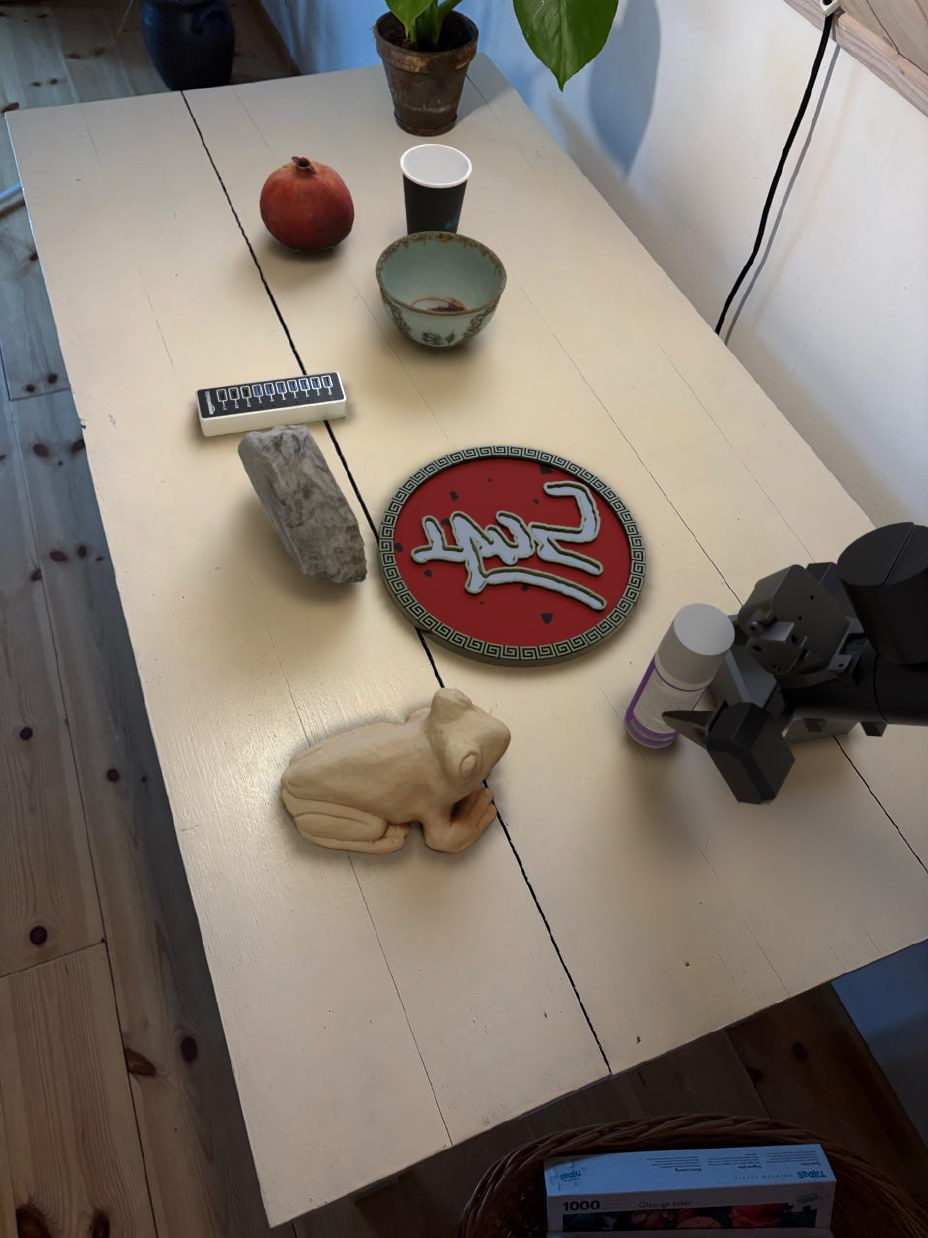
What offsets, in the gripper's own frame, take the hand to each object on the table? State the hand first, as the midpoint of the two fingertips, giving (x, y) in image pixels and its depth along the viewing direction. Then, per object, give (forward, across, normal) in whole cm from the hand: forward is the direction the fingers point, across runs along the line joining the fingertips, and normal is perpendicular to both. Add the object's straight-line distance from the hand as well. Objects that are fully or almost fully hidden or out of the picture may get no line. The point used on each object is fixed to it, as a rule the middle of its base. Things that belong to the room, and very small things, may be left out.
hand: (691, 674), depth 72 cm
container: (+7, 0, +6) cm, 9 cm away
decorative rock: (+32, +3, -19) cm, 37 cm away
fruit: (+52, -32, -38) cm, 72 cm away
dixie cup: (+43, -40, -30) cm, 66 cm away
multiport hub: (+42, -8, -28) cm, 51 cm away
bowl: (+37, -29, -24) cm, 53 cm away
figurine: (+18, +17, -4) cm, 25 cm away
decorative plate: (+21, -8, -7) cm, 24 cm away
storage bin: (+2, -9, +11) cm, 14 cm away
